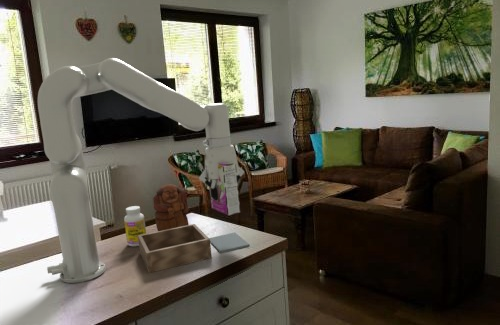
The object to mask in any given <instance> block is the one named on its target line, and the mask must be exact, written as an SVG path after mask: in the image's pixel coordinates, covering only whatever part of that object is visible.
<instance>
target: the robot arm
mask: <svg viewBox="0 0 500 325" xmlns="http://www.w3.org/2000/svg"><path fill="white" fill-rule="evenodd" d="M111 90H112V91H114V92H116V93H117V94H120V96H121V95H122V96H123V97H125V98H126V99H129V100H130V101H132V102H134V103H136V104H138V105H139V106H141V107H143V108H146V109H148V110H151V111H153V112H155V113H159V114H161V115H163V116H165V117H168V118H169V119H171V120H173V121H175V122H177V123H179V124H180V125H181V126H182V127H183V128H185V129H187V130H190V131H194V132H199V131H203V130H205V136H206V137H205V140H202V145H203V146H206V148H205V150H204V152H205V153H204V170H203V171H202V172H201V174H200V176H198V179H199V181H201V182H202V183H204V184H205V185H207V187H208V188H209V187H210V189H209V193H210V192H211V197H212V198H213V199H214V200H217V189H216V188H215V183H216V180H218V179H219V171H218V164H222V163H229V162H233V163H236V172H237V182H238V181H239V180H240V179H241V177H242V176H243V175H244V174H245V170H244V169H243V168H242V167H240V166H239V162H238V158H237V154H236V153H237V152H236V150H235V146H234V145H233V144H232V143H231V142H232V141H231V130H230V122H229V121H230V120H229V110H228V105H227V104H226V103H224V102H217V103H207V104H205V105H201V104H199V103H197V102H195V101H193V100H192V99H190V98H188V97H186V96H185V95H183V94H181V93H179V92H177V91H176V90H174V89H172V88H170V87H168V86H166V85H165V84H163V83H162V82H160V81H157V80H156V79H154V78H153V77H151V76H148V75H147V74H146V73H143V72H142V71H140V70H138V69H136V68H134V67H133V66H131V65H130V64H128V63H127V62H125V61H123V60H121V59H119V58H115V57H109V58H105V59H104V60H102V61H101V62H98V63H97V62H96V63H94V64H93V63H92V64H88V65H82V66H74V65H64V66H62V67H59V68H57V69H55V70H54V71H52V72H51V73H50V74H49V75H48V76H47V77H46V76H45V78H44V80H43V81H42V83H41V85H40V87H39V90H38V92H37V109H38V110H37V111H38V115H39V116H38V117H39V121H40V122H39V124H40V128H41V135H42V140H43V149H44V154H45V156H46V158H48V159H49V164H50V165H49V166H50V168H51V174H52V178H51V180H50V184H49V193H50V198H51V203H52V206H53V211H54V215H55V221H56V227H57V231H58V232H57V233H58V237H59V238H58V239H59V243H60V249H61V250H60V251H61V256H62V261H61V262H59V263H58V264H57V265H51V266H47V268H46V270H47V274H51V275H52V276H55V275H58V274H59V279H60V281H62V282H63V283H68V284H78V283H83V282H86V281H87V282H88V281H89V280H90V281H91V280H93V279H95V278H97V277H99V276H101V275H102V274H104V272H105V271H106V269H107V268H106V264H105V262H103V261H100V258H99V251H98V246H97V239H96V233H95V232H96V231H95V227H94V219H93V213H92V208H91V202H90V196H89V187H88V175H87V168H86V164H85V158H84V151H83V145H82V141H81V138H80V137H79V135H78V134H77V131H76V124H75V118H74V113H73V112H74V111H73V101H74V100H75V98H80V97H84V96H85V97H86V96H89V95H93V94H98V93H102V92H103V93H104V92H106V91H111ZM206 178H210V180H208V179H206Z"/></svg>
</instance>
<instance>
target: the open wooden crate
mask: <svg viewBox="0 0 500 325" xmlns="http://www.w3.org/2000/svg"><path fill="white" fill-rule="evenodd" d="M209 238H210V237H208V236H207V234H206V233H204V232H203V230H202V229H200V228H199V226H197V225H196V224H195V223H192V224H189V225H186V226H182V227H177V228H172V229H167V230H162V231H158V230H157V231H153V232H148V233H146V234H143V235H138V240H139V246H138V247H139V254H140V256H141V258H142V261H143V262H144V264H145V267H146V269H147V272H148V273H149V274H150V273H155V272H159V271H162V270H165V269H171V268H174V267H179V266H183V265H187V264H191V263H195V262H199V261H203V260H204V261H205V260H207V259H212V247H211V245H212V244H211V243H210V239H209Z"/></svg>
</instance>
